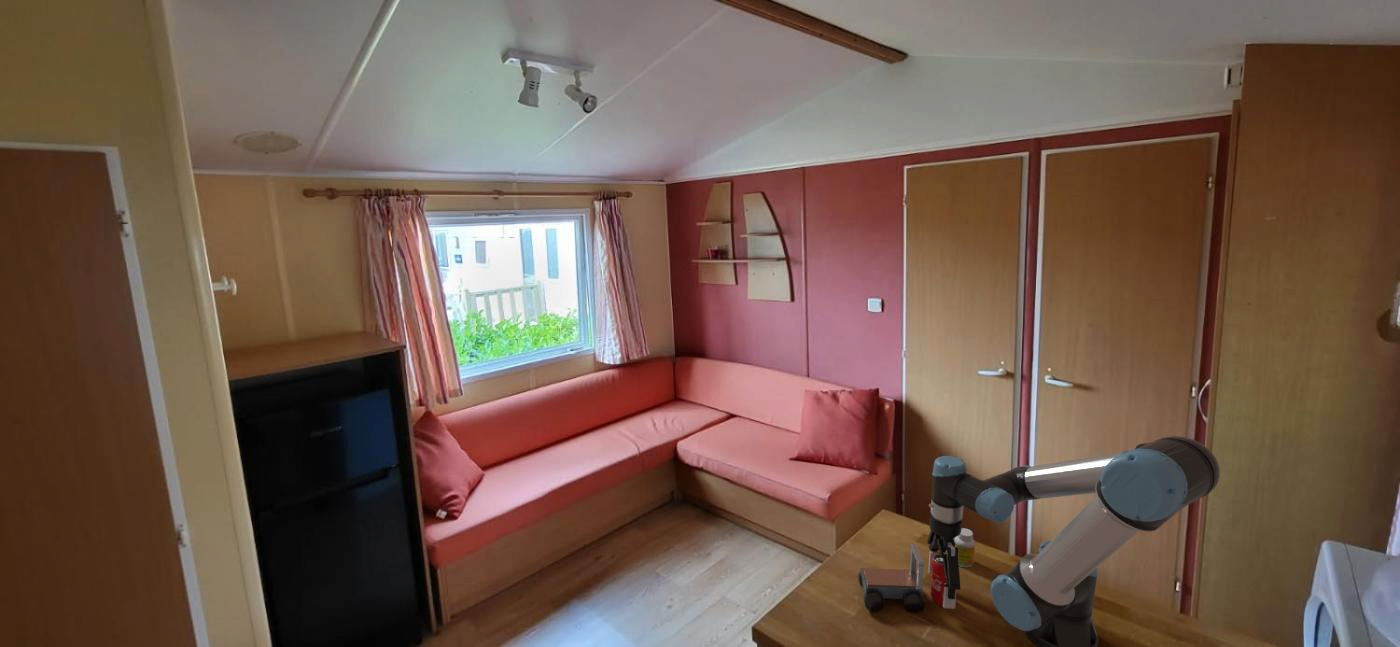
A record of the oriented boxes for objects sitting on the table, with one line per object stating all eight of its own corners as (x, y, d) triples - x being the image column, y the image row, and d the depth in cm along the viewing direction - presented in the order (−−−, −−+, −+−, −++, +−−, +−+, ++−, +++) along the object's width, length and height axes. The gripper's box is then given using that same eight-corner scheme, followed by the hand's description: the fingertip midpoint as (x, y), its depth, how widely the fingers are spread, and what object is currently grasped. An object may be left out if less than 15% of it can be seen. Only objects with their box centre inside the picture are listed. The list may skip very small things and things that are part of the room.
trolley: (914, 586, 165) (916, 540, 162) (924, 613, 154) (927, 565, 151) (857, 584, 166) (859, 539, 163) (864, 611, 156) (866, 563, 153)
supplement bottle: (954, 566, 173) (956, 535, 171) (952, 555, 178) (954, 525, 176) (974, 569, 171) (976, 538, 169) (972, 558, 176) (974, 528, 174)
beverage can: (953, 607, 156) (956, 566, 154) (932, 605, 157) (934, 564, 155) (949, 594, 161) (952, 554, 158) (928, 592, 162) (931, 552, 160)
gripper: (918, 491, 166) (914, 560, 171) (945, 544, 142) (940, 622, 147) (946, 492, 166) (941, 561, 170) (978, 545, 141) (972, 623, 146)
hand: (941, 589), depth 159 cm, fingers open, 13 cm apart
